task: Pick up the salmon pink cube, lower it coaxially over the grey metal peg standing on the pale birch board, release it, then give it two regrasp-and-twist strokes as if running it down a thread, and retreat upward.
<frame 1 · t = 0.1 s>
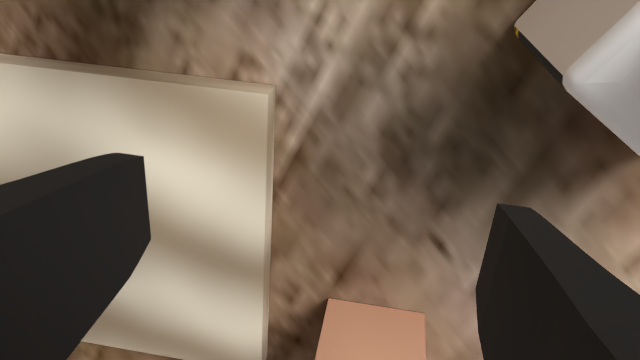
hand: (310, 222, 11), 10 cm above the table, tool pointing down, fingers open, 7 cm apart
salmon pink cube: (370, 341, 25), on the table
post board: (122, 216, 24), on the table
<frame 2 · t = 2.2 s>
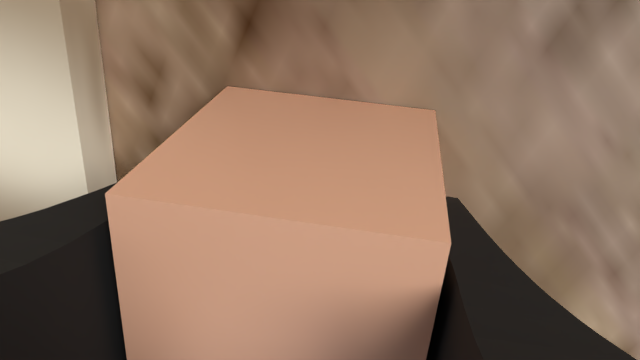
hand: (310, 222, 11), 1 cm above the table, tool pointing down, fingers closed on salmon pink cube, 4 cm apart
salmon pink cube: (321, 190, 12), on the table, touching gripper
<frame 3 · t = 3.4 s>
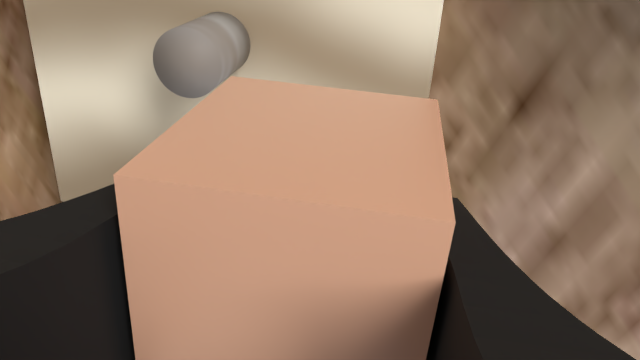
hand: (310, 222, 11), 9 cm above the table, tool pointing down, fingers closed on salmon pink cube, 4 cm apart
salmon pink cube: (324, 180, 12), point 7 cm above the table, touching gripper
post board: (232, 36, 18), on the table
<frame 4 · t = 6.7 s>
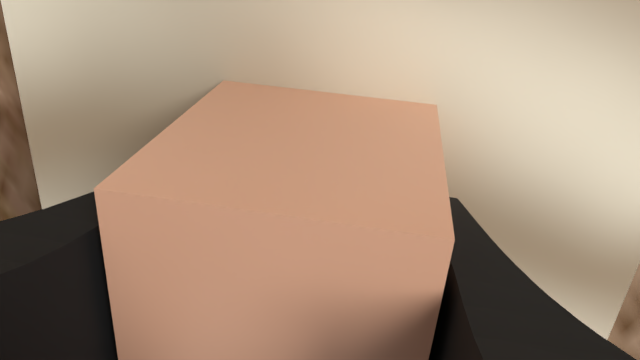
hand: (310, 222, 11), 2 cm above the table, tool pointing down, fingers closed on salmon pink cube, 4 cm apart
salmon pink cube: (320, 187, 12), point 1 cm above the table, touching gripper, post board
post board: (327, 172, 13), on the table
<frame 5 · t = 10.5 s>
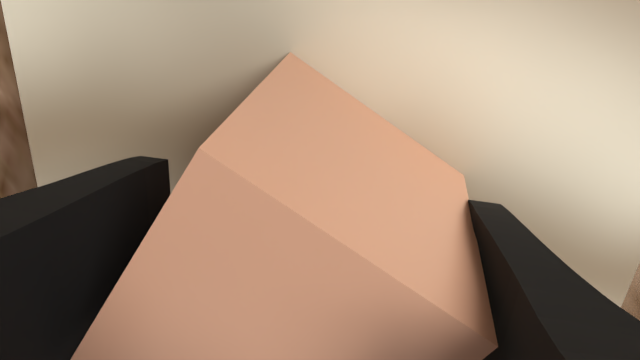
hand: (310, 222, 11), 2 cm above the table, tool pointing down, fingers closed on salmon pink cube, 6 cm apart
salmon pink cube: (320, 190, 12), point 1 cm above the table, touching gripper, post board
post board: (327, 172, 13), on the table
when the fingers open (3 cm above the table, at t = 12.1 s): salmon pink cube stays where it is, resting on post board.
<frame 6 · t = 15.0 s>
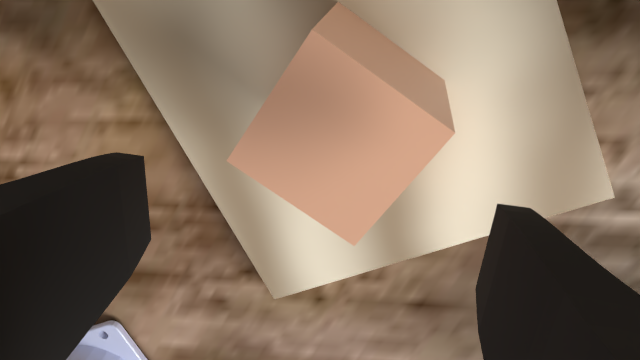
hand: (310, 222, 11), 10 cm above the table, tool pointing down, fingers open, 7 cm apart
salmon pink cube: (353, 93, 18), point 1 cm above the table, touching post board
post board: (356, 87, 19), on the table
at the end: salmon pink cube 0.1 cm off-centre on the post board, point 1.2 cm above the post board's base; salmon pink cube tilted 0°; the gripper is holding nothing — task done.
